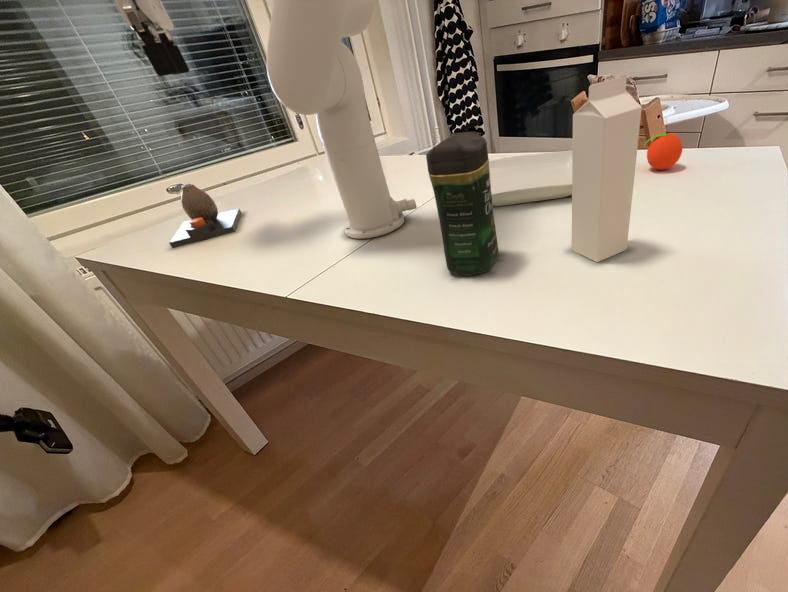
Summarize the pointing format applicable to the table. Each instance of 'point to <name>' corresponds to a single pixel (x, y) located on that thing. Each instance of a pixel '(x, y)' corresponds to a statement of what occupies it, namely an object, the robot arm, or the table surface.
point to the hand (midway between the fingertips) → (175, 73)
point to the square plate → (531, 178)
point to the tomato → (664, 151)
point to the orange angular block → (197, 222)
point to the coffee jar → (464, 202)
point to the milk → (604, 169)
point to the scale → (207, 229)
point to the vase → (198, 203)
